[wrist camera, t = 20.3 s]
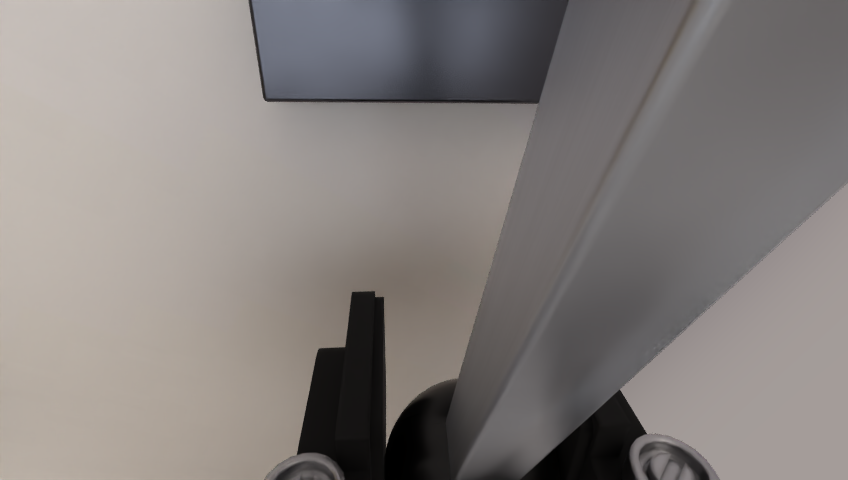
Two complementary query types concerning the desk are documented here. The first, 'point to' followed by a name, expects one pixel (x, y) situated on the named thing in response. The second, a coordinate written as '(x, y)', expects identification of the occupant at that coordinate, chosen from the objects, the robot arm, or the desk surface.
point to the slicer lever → (634, 214)
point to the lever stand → (405, 50)
